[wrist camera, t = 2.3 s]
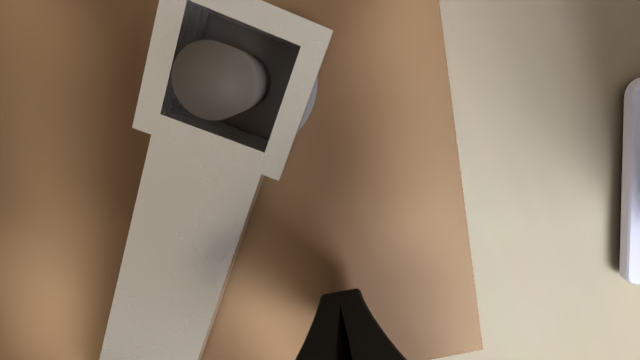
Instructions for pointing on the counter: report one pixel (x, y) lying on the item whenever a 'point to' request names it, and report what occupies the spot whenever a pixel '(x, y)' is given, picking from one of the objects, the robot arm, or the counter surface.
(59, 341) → the board
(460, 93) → the counter surface
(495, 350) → the counter surface
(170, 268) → the link
